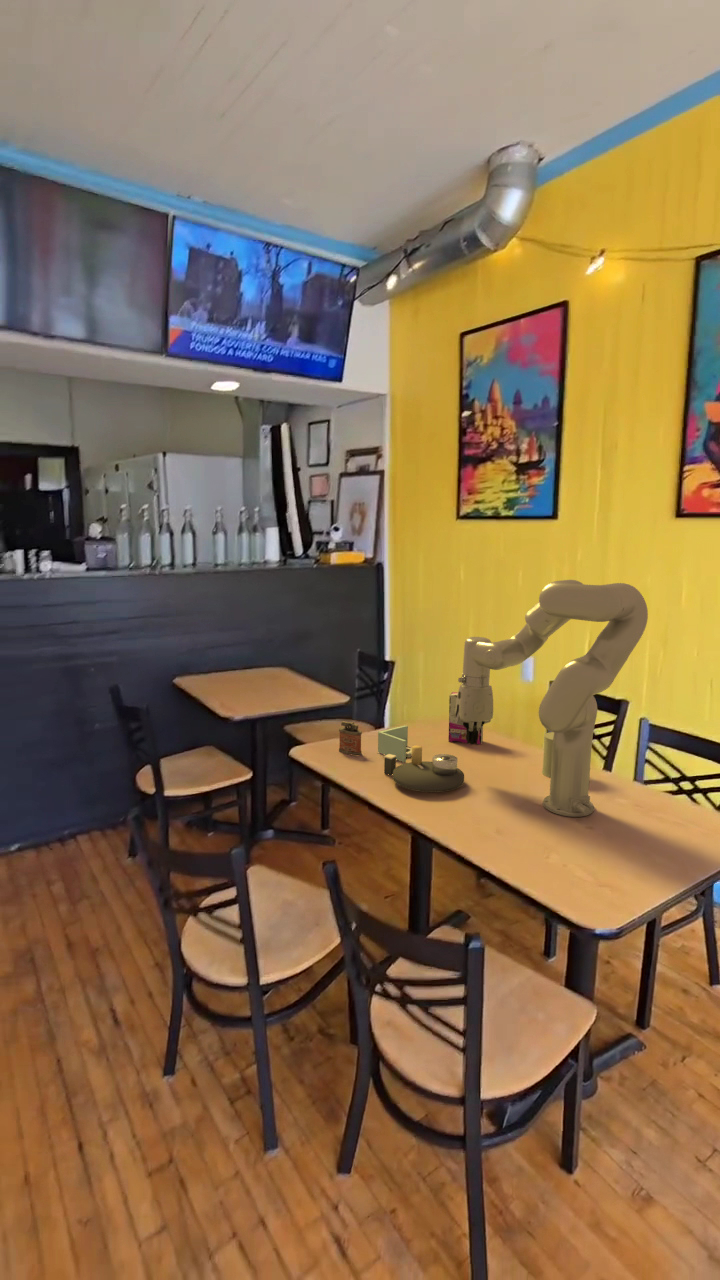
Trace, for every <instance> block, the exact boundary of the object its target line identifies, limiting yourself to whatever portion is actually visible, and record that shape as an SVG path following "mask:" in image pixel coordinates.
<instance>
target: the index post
mask: <svg viewBox="0 0 720 1280" xmlns="http://www.w3.org/2000/svg"><path fill="white" fill-rule="evenodd" d="M383 758H384V759H383V760H384V763H383V766H384V769H383V770H384V772H383V773H385V774H384V775H387V774H389V775H388V776H393V775H392V774H393V770H394V769H395V768H396V767H397V760H396V755H392V754H388V755H386V756H385V755H383Z"/></svg>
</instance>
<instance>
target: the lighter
mask: <svg viewBox="0 0 720 1280" xmlns="http://www.w3.org/2000/svg"><path fill="white" fill-rule="evenodd" d="M340 724H341V725H340V726H343V727H339V728H338V733H339V748H338V752H339V753H341V752H342V753H343V754H345V753H346V755H349V754H352V755H351V756H356V755H359V756H361V755H362V752H363V751H362V734H363V731H362V730H360V729H359V724H358V723H357V724H356V723H355V722H353V721H352V722H349V721H344V720H343V721H341V722H340ZM342 753H341V754H342Z"/></svg>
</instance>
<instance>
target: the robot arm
mask: <svg viewBox="0 0 720 1280" xmlns="http://www.w3.org/2000/svg"><path fill="white" fill-rule="evenodd" d="M648 615H649V611H648V607H647V603H646V600H645V598H644V596H643V595H642V593H641V591H640V590H638V589H637V588H636V587H635V586H633V585H632V584H628V583H624V582H615V583H607V584H601V585H599V584H585V583H583V582H581V581H579V580H576V579H563V580H555V581H551V582H549V583H547V584H546V585H545V586H544V587H543V588H542V590H541V591H540V593H539V597H538V602H537V603H535V605H533V606H532V607H531V608H530V609H529V610H527V612H526V613H525V616H524V620H525V625H524V626H523V627H522V628H521V629H520V630H519V631H518V632H517V633H515V634H514V635H513V636H512V637H510V638H508V639H503V640H499V641H491V640H490V639H489V638H486V637H483V636H470V637H467V638H466V639H465V641H464V645H463V646H464V648H463V660H462V661H463V663H462V664H463V666H462V674H461V677H458V683H460V685H459V687H458V691H457V693H458V695H457V701H456V710H455V715H456V721H455V723H456V724H458V725H463V726H464V727H465V728H466V729H467V731H466V740H467V742H468V743H470V744H469V745H478V744H477V740H478V731H479V730H480V729H481V727H482V726H483V727H484V725H485V724H488V723H490V722H491V721H492V719H493V717H494V695H493V688H492V685H490V678H491V677H490V675H491V670H494V671H498V670H499V671H500V670H503V669H506V668H510V667H514V666H518V665H520V664H522V663H523V662H525V661H526V660H527V659H529V658H530V657H531V656H533V655H534V654H535V653H536V652H538V651H539V650H540V649H541V648H542V647H543V646H544V645H545V644H546V642H547V641H548V639H549V638H550V637H551V636H552V635H553V634H554V633H556V632H557V631H558V630H559V629H560V628H562V627H563V626H564V625H565V624H566V623H568V622H569V621H570V620H576V621H577V620H578V621H586V622H596V623H604V622H607V625H605V626H604V628H603V629H602V630H601V632H600V633H599V634H598V635H597V637H596V639H595V641H594V642H593V644H592V645H591V647H590V649H589V650H588V651H587V652H586V653H585V654H584V655H583V656H580V657H577V658H574V659H572V660H570V661H568V662H567V663H566V664H565V665H564V666H562V668H561V669H560V670H559V672H558V673H557V675H556V677H555V679H554V680H553V682H552V683H551V685H550V686H549V688H548V690H547V691H546V693H545V695H544V696H543V698H542V700H541V701H540V704H539V706H538V718H539V721H540V723H541V725H542V726H543V727H544V729H546V730H548V731H549V732H554V737H553V747H552V763H551V778H550V781H549V782H550V783H549V795H547V796H545V797H544V798H543V799H542V805H543V807H544V809H546V810H547V811H548V812H551V813H553V814H556V815H558V816H565V817H569V818H570V817H574V818H579V817H587V816H590V815H591V814H593V812H594V811H595V808H596V807H595V805H594V804H593V803H592V801H591V796H590V795H589V792H590V791H589V788H590V774H591V760H592V747H593V746H592V745H593V736H594V730H595V725H596V720H597V717H598V704H597V701H596V698H595V695H597V694H600V693H602V692H604V691H606V690H608V689H609V688H610V687H611V685H612V684H613V683H614V681H615V679H616V677H618V674H619V673H620V671H621V669H622V668H623V667H624V665H625V664H626V662H627V661H628V659H629V657H630V655H631V654H632V652H633V651H634V649H635V648H636V647H637V645H638V643H639V642H640V640H641V638H642V637H643V634H644V632H645V630H646V628H647V623H648V617H649V616H648ZM468 743H467V744H468Z"/></svg>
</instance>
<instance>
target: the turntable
mask: <svg viewBox="0 0 720 1280" xmlns="http://www.w3.org/2000/svg"><path fill="white" fill-rule="evenodd" d="M411 748H412V757H411V761H410V762H405V763H403V764H399V765H398V766H396V768H395V769H394V770H393V775H392V780H393V782H395V784H397V785H398V786H400V787H402V788H403V789H407V790H411V791H416V792H423V793H441V792H442V793H443V792H449V791H452V790H456V789H458V788H460V787H462V786H463V785H464V782H465V773H464V772H463V770H461V769H460V768H458V767H457V774H455V775H452V776H440V775H436V774H434V773H433V772H432V761H424V760H423V747H422V746H420V745H412V746H411Z"/></svg>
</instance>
